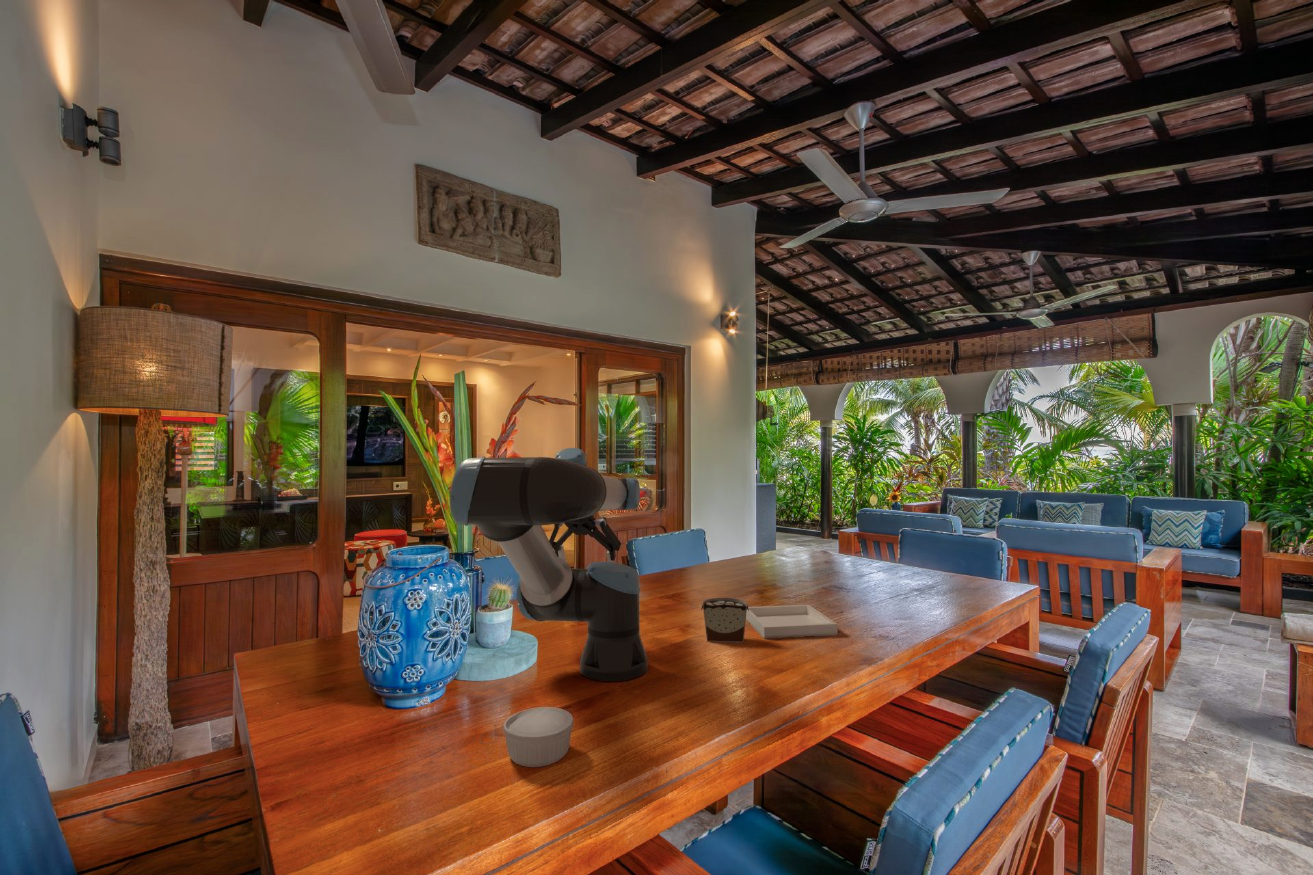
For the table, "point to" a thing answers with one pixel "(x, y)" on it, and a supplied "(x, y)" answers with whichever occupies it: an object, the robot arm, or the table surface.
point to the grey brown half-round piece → (725, 619)
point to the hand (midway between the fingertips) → (587, 567)
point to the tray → (790, 621)
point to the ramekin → (538, 736)
